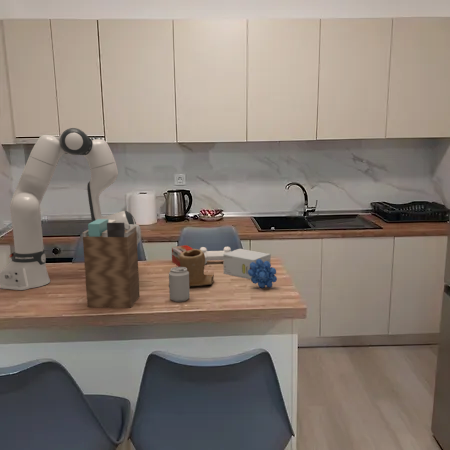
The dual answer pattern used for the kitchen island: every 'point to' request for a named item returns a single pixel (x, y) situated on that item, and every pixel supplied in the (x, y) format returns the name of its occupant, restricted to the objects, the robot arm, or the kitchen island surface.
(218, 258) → the white bone
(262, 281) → the blue bumpy cluster
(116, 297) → the wooden desk organizer
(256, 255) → the supplement box
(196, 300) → the kitchen island surface
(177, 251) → the medicine box
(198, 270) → the tan boot
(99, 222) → the teal and white bar
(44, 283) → the robot arm
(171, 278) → the can
